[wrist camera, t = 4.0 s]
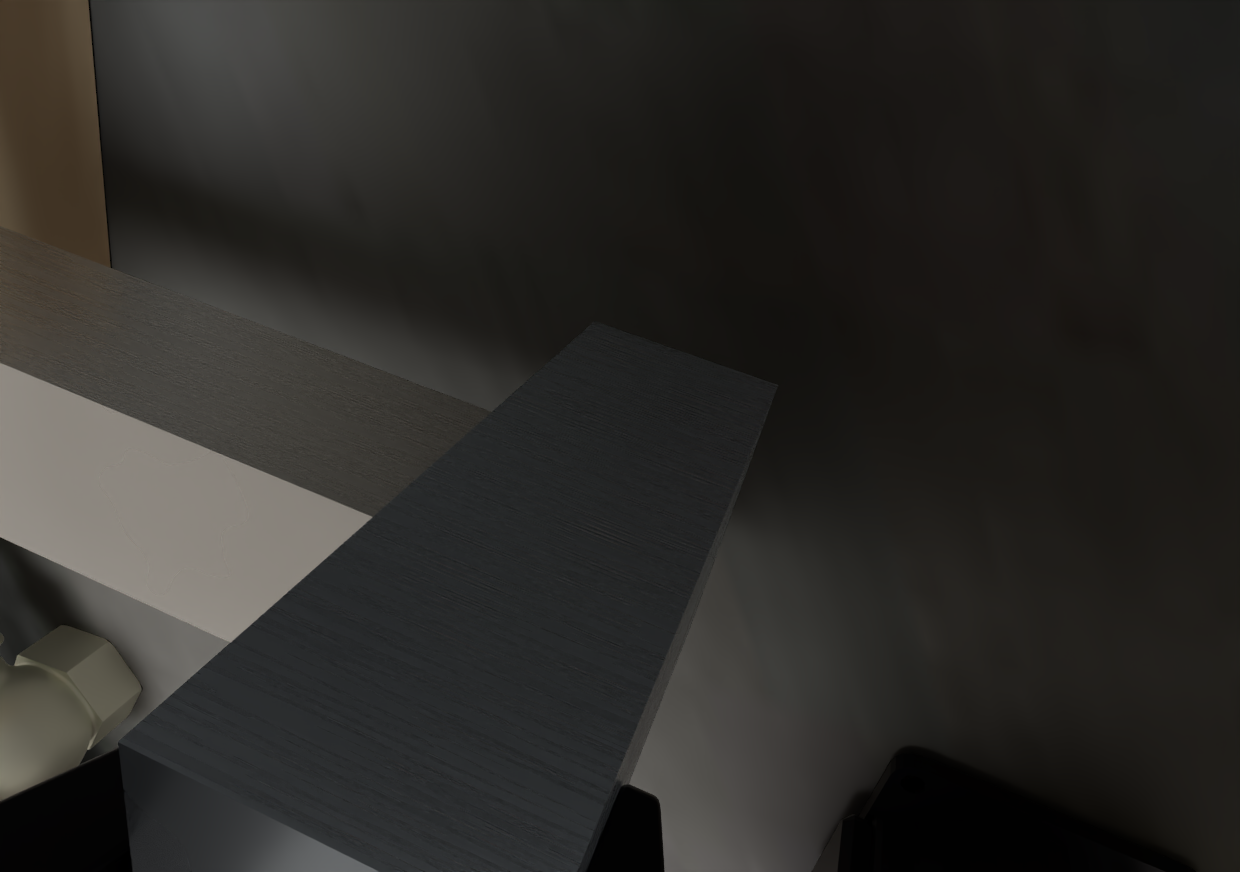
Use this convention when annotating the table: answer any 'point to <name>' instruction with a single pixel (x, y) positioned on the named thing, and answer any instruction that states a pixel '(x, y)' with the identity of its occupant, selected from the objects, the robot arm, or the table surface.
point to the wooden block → (51, 128)
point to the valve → (59, 705)
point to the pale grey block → (368, 570)
